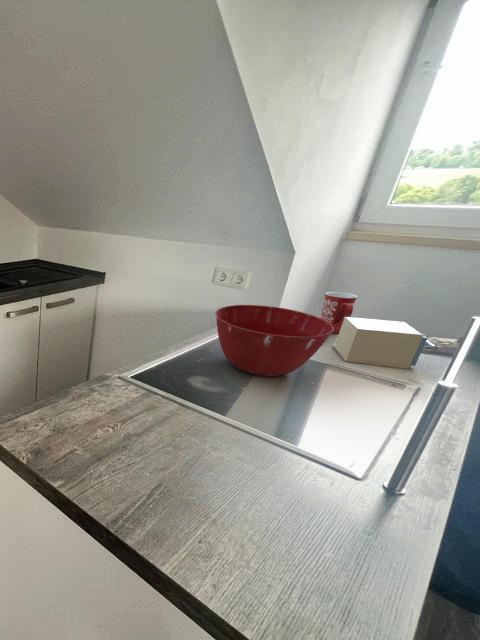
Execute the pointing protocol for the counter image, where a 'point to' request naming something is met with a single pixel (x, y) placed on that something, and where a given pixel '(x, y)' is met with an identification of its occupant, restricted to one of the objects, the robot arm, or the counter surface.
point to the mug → (337, 308)
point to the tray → (423, 344)
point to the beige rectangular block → (378, 342)
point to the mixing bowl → (269, 338)
